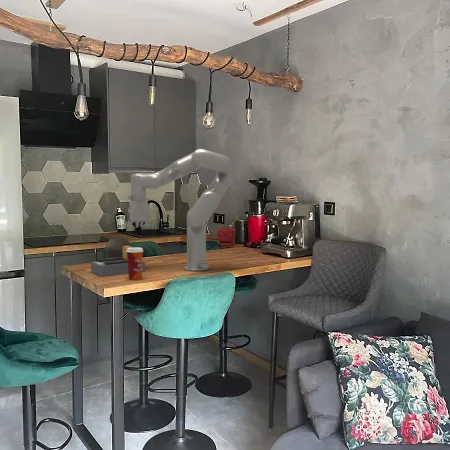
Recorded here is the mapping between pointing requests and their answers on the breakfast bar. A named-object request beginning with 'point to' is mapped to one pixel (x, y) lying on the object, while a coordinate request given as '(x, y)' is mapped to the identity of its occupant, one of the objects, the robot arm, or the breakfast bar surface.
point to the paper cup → (135, 262)
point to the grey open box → (111, 266)
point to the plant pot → (228, 238)
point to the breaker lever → (125, 251)
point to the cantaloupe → (116, 247)
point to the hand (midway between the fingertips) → (138, 235)
